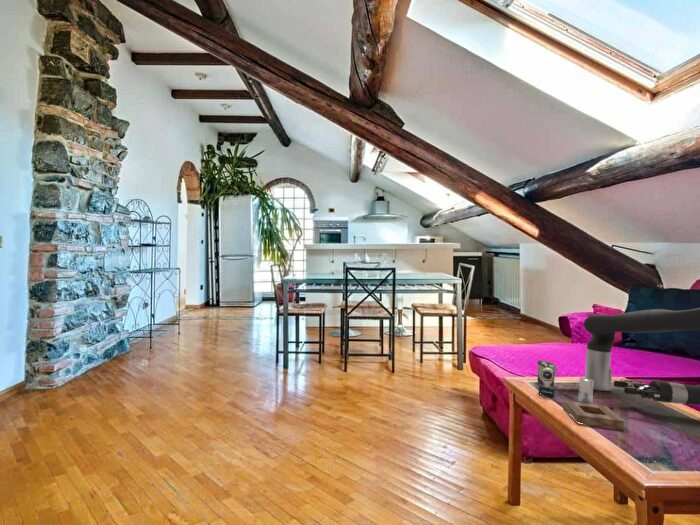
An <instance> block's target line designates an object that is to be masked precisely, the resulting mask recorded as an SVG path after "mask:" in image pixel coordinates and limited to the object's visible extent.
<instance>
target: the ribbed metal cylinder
mask: <svg viewBox="0 0 700 525" xmlns="http://www.w3.org/2000/svg"><path fill="white" fill-rule="evenodd" d="M593 386H594V380H592V379H589V378H585V377H579V380H578V395H577V396H578V397H577V402H579V403H587V404H593V402H594V401H593V398H594V389H593Z"/></svg>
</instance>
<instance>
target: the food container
mask: <svg viewBox="0 0 700 525" xmlns="http://www.w3.org/2000/svg"><path fill="white" fill-rule="evenodd" d="M545 367H546V368H551V370H552V371H553V373H554V376H555V378H554V379H553V381H552V383H551V384H550V386H551V387H555V386H554V385H555V379H556V372H558V367H557V365H556V364H555V363H553V362H551V361H546V360H542V359H541V360H540V359H538V360H537V376H536V377H537V379H536V380H537V381H538V382H539V383H540V384H541V385H544V382H543V381H542V377H541V372H542V371H543V369H545ZM538 382H537V383H538ZM539 383H538V384H539ZM540 384H539V385H540Z"/></svg>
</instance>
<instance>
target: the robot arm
mask: <svg viewBox="0 0 700 525" xmlns="http://www.w3.org/2000/svg"><path fill="white" fill-rule="evenodd" d="M583 328H584V329H585V331H586V332H588V333H589V334H591V335H592V337H591V339H590V340H589V341H588V342H587V344H586V356H585V357H586V358H585V371H584V372H585V373H584V378H589V379H592V380H594V386H593V390H595V391H601V392H602V391H605V392H607V391H610V392H611V391H612V379H613V378H612V374H613V370H612V368H611V360H612V359H611V358H612V349H613V346H614V344H615V337H616V333H629V334H631V333H632V334H654V333H656V334H657V333H666V332H667V333H669V332H677V331H678V332H680V331H700V307H697V308H692V309H691V308H690V309H683V310H671V309H664V308H663V309H662V308H654V309H653V308H652V309H642V310H636V311H629V312H628V311H627V312H623V313H620V314H619V313H618V314H611V315H610V314H609V315H608V314H592V315H590V316H588V317H586V318H585V319H584V321H583ZM613 387H616V388H623V394H624V393H625V394H626V395H636V396H638V397H640V398H643V399H651V400H653V401H655V402H658V403H670V404H677V405H678V404H681V405H683V404H684V405H692V406H700V384H696V385H694V384H693V385H692V384H686V383H685V384H684V383H678V382H673V381H664V380H651V381H650V383H649V384H647V383H644V382H642V381H638V380H637V381H635V380H629V379H624V380H623V381H621V380H613Z"/></svg>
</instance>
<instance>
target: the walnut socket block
mask: <svg viewBox="0 0 700 525" xmlns="http://www.w3.org/2000/svg"><path fill="white" fill-rule="evenodd" d="M563 409H565V410H566V411H567V412H568V413H569V414H571V415H572V416H573V417H574V419H575V420H576V421H577V422H580V423H583V424H586V425H585V426H589V427H595V428H604V429H610V430H619V431H624V429H625V428H624V426H625V420H624V419H622V418H621V417H620V416H618V414H616V413H615V412H614V411H613V410H612V409H611V408H609V407H608V406H607V405H602V404H594V403H592V404H587V403H579V402H578V401H569V400H563ZM565 410H564V411H565ZM566 411H565V412H566ZM567 412H566V413H567ZM568 413H567V414H568ZM569 414H568V415H569Z"/></svg>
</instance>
